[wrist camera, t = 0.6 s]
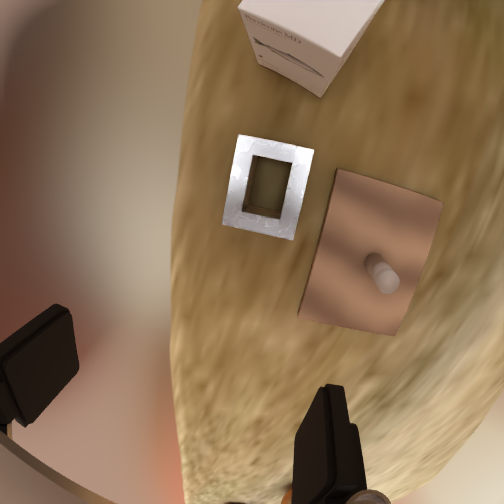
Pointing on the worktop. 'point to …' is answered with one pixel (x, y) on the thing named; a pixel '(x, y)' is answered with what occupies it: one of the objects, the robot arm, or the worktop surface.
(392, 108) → the worktop surface
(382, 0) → the supplement box
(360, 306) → the keeper
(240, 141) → the link
